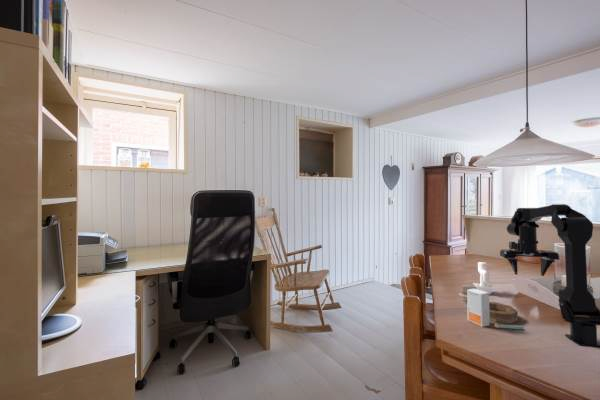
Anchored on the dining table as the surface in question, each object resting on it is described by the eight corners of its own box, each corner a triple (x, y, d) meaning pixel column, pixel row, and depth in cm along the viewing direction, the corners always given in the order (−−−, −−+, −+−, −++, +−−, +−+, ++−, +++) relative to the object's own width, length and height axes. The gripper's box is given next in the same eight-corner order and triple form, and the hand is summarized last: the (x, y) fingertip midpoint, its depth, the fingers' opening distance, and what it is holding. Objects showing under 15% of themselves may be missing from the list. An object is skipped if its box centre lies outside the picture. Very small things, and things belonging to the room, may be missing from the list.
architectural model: (478, 305, 124) (478, 288, 124) (460, 303, 126) (460, 287, 126) (477, 303, 127) (476, 286, 127) (459, 301, 130) (459, 284, 130)
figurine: (478, 295, 136) (477, 264, 136) (472, 289, 145) (471, 260, 145) (495, 296, 134) (494, 264, 134) (488, 290, 143) (487, 261, 143)
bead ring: (522, 324, 103) (522, 314, 103) (484, 321, 106) (484, 312, 106) (506, 311, 115) (506, 302, 115) (472, 309, 118) (472, 301, 118)
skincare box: (467, 320, 107) (466, 289, 107) (475, 319, 108) (474, 288, 109) (482, 327, 101) (481, 294, 101) (490, 325, 103) (489, 292, 103)
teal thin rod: (521, 328, 100) (521, 324, 100) (524, 330, 98) (523, 326, 98) (493, 326, 102) (493, 322, 102) (495, 328, 100) (495, 324, 100)
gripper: (544, 236, 122) (545, 271, 122) (494, 235, 128) (496, 269, 127) (559, 239, 111) (560, 278, 111) (504, 238, 117) (505, 275, 117)
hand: (529, 275), depth 117 cm, fingers open, 9 cm apart
